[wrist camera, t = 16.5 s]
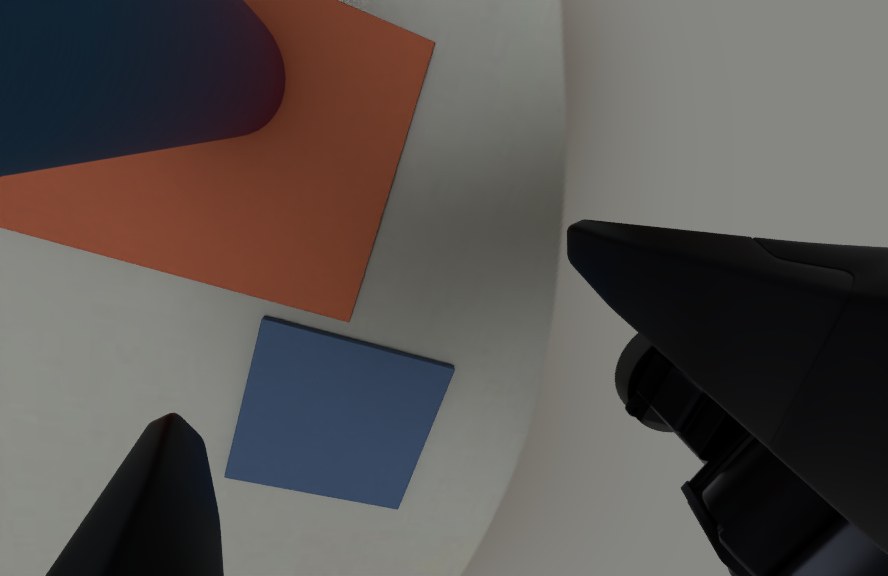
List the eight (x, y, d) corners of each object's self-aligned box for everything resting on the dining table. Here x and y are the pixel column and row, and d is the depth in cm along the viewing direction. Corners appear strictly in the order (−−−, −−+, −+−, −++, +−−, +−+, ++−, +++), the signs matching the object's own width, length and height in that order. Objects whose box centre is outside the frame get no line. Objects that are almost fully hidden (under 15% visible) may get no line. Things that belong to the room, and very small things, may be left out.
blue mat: (454, 365, 22) (454, 369, 22) (398, 504, 25) (398, 509, 25) (264, 315, 20) (261, 318, 20) (226, 472, 23) (223, 477, 23)
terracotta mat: (434, 44, 17) (435, 42, 17) (349, 319, 21) (348, 322, 20) (-15, -149, 14) (-26, -157, 14) (-20, 218, 18) (-29, 219, 17)
